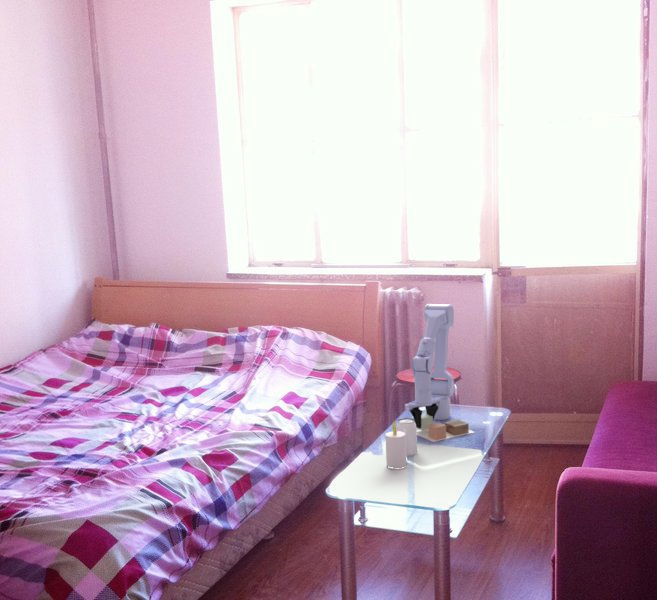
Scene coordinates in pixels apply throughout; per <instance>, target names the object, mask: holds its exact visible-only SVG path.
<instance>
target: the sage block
mask: <svg viewBox="0 0 657 600" xmlns="http://www.w3.org/2000/svg"><path fill="white" fill-rule="evenodd" d="M429 424H434V420H433V416H430V415H428V414H426V413H422V415H421V428H417V427H416V429H417V430H419V429H420V430H422V431H424V430H428V425H429Z"/></svg>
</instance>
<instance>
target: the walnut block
mask: <svg viewBox="0 0 657 600" xmlns="http://www.w3.org/2000/svg"><path fill="white" fill-rule="evenodd" d="M444 424H445V425H446V432H448V433H450V434H452V435H460V434H464V433H469V430H470V429H469V428H470V427H469V426H470V425H469V423H468V422H465V421H463V420H461V419H454V420H450V421H447V422H444Z"/></svg>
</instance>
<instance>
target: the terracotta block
mask: <svg viewBox="0 0 657 600" xmlns="http://www.w3.org/2000/svg"><path fill="white" fill-rule="evenodd" d="M443 424H444V423H441V422H435V423H434V422H433V424H429V425H428V435H429V437H430V438H432V439H434V440H439V439H443V438H446V425H443ZM439 441H440V440H439Z"/></svg>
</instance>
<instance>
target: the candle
mask: <svg viewBox="0 0 657 600" xmlns="http://www.w3.org/2000/svg"><path fill="white" fill-rule="evenodd" d="M384 437H385V455H386V458H385V459H386V461H385V462H386V467H387V466H389V467H393V468H402V467H405V466H406V467H407V459H406V458H407V456H406V440H405V433H404V432H401V431H397V423H396V421H395V420H394V421H393V423H392V431H388V432H386V433H385V436H384ZM406 467H405V468H406Z"/></svg>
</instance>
